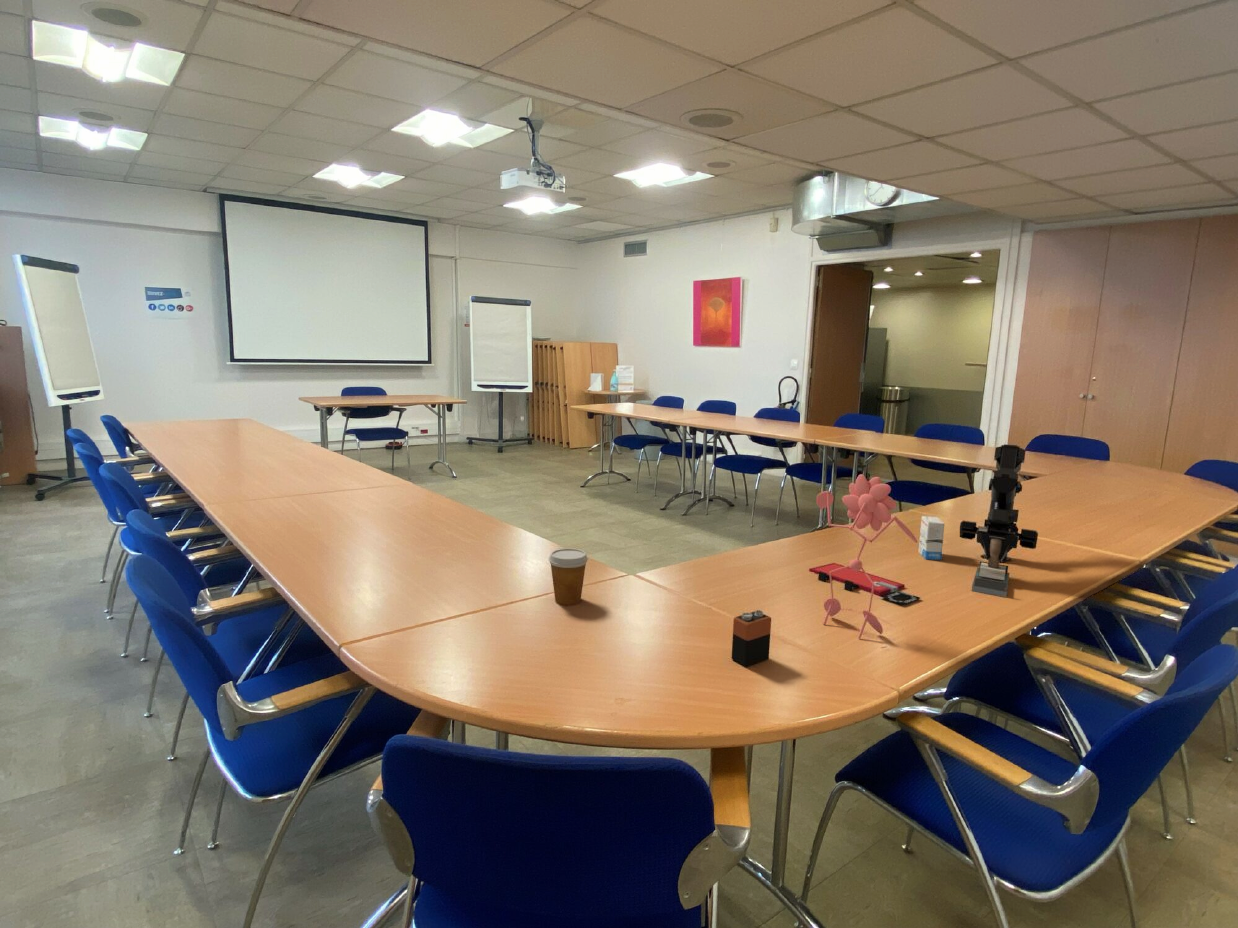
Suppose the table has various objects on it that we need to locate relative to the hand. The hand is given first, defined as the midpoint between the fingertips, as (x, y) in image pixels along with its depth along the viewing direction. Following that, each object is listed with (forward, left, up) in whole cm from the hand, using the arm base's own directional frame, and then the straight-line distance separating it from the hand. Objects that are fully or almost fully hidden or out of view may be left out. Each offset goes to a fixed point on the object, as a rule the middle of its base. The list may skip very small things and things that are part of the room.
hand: (993, 560), depth 178 cm
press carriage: (-1, -1, -5) cm, 5 cm away
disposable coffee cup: (+107, -46, -7) cm, 117 cm away
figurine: (+56, 0, -7) cm, 56 cm away
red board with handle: (+32, -17, -7) cm, 37 cm away
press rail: (+1, 0, -7) cm, 7 cm away
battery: (+90, 0, -7) cm, 90 cm away
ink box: (-8, -23, -7) cm, 26 cm away
